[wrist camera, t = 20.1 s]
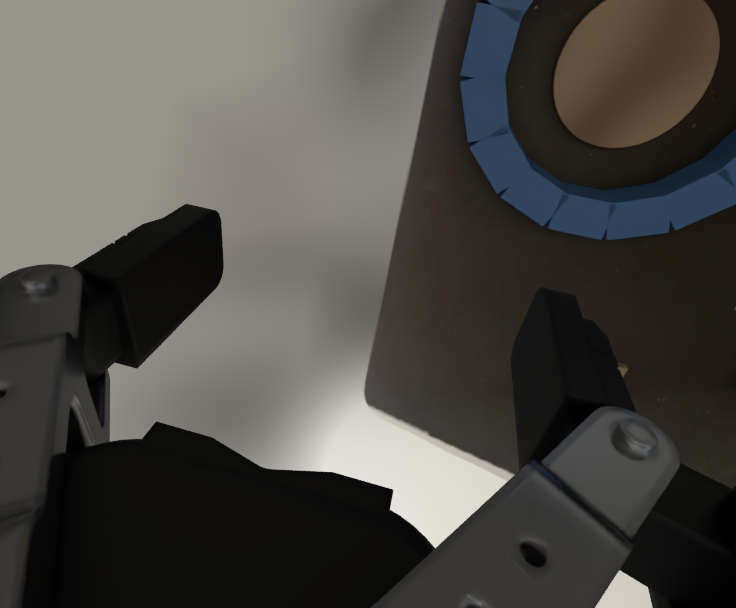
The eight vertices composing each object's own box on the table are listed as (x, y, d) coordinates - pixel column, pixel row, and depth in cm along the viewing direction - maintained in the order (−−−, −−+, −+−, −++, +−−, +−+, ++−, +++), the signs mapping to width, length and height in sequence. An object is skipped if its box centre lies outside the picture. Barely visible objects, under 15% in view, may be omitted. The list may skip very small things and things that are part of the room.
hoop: (433, 191, 38) (430, 203, 35) (523, -197, 25) (527, -220, 22) (711, 250, 36) (728, 267, 33) (972, -144, 22) (1032, -164, 20)
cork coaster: (532, 132, 34) (532, 133, 33) (587, -30, 28) (589, -30, 28) (665, 158, 33) (668, 160, 32) (751, -3, 27) (756, -4, 27)
